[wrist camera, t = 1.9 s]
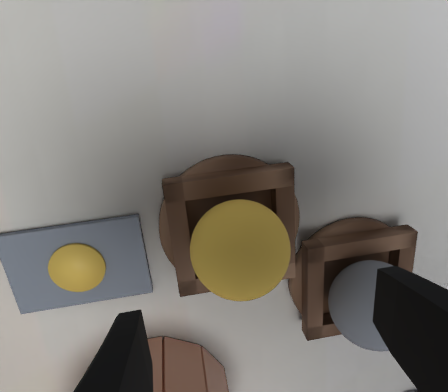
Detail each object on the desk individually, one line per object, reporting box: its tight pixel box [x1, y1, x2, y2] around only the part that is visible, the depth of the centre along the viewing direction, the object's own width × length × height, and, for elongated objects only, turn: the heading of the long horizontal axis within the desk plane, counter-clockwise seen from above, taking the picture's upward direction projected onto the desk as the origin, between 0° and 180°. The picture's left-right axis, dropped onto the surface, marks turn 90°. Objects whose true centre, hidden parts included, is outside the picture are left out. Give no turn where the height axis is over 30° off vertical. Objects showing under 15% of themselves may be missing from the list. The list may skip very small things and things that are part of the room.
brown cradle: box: [288, 217, 418, 341], centre depth 19 cm, size 6×6×1 cm
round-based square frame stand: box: [159, 154, 299, 297], centre depth 16 cm, size 6×6×1 cm
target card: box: [0, 214, 153, 314], centre depth 16 cm, size 6×4×1 cm, turn 95°
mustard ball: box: [190, 199, 291, 301], centre depth 15 cm, size 4×4×4 cm
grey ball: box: [328, 260, 393, 351], centre depth 17 cm, size 4×4×4 cm
